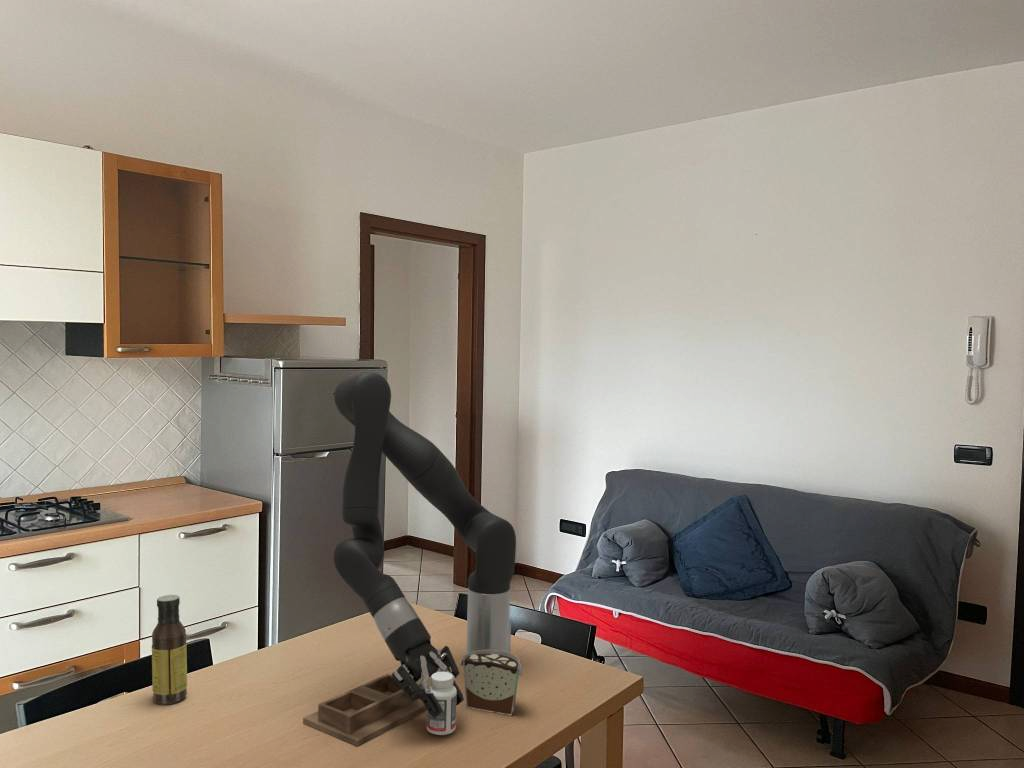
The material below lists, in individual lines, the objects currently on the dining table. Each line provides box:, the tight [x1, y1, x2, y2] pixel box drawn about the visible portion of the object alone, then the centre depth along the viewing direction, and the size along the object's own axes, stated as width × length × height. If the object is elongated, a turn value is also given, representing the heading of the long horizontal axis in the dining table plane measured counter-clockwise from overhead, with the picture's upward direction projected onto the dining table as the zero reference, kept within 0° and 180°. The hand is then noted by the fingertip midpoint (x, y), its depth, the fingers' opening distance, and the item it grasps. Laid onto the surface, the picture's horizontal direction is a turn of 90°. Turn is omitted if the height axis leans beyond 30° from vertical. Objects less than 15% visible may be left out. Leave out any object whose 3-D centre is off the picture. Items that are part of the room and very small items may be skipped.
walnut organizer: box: [302, 673, 427, 747], centre depth 151 cm, size 20×14×4 cm
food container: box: [460, 650, 523, 716], centre depth 157 cm, size 12×6×10 cm, turn 71°
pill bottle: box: [426, 671, 457, 736], centre depth 145 cm, size 5×5×10 cm
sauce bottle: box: [151, 594, 188, 706], centre depth 155 cm, size 6×6×20 cm
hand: (449, 708), depth 144 cm, fingers closed on pill bottle, 5 cm apart
